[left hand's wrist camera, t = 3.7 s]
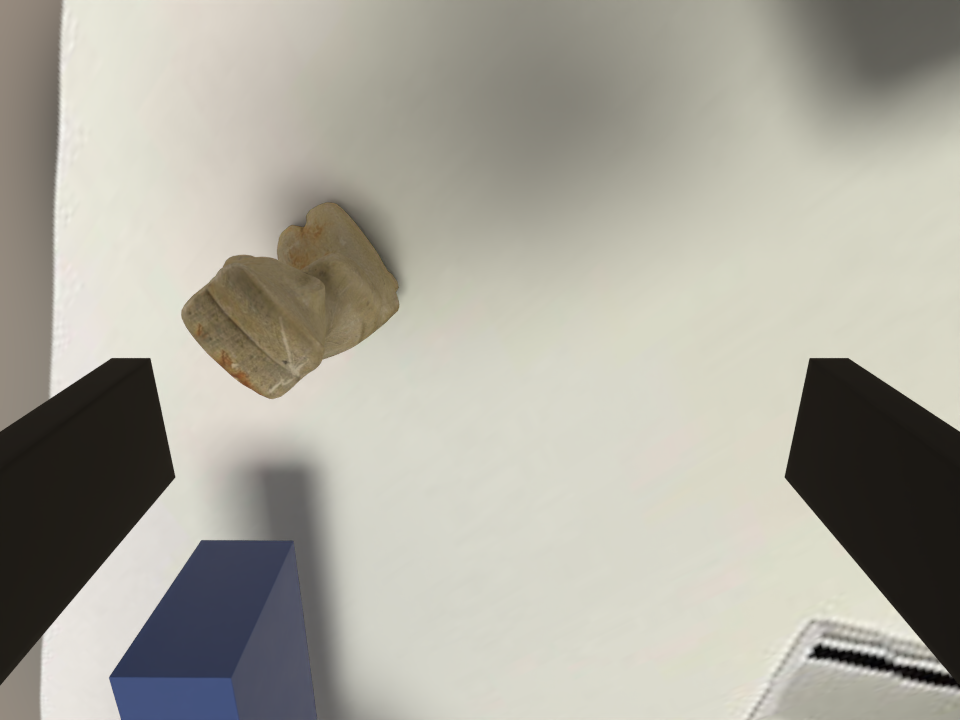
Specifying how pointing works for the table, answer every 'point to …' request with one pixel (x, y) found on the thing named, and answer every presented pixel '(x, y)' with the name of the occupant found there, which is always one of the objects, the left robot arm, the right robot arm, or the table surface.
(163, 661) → the bar
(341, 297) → the sculpture
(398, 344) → the table surface
